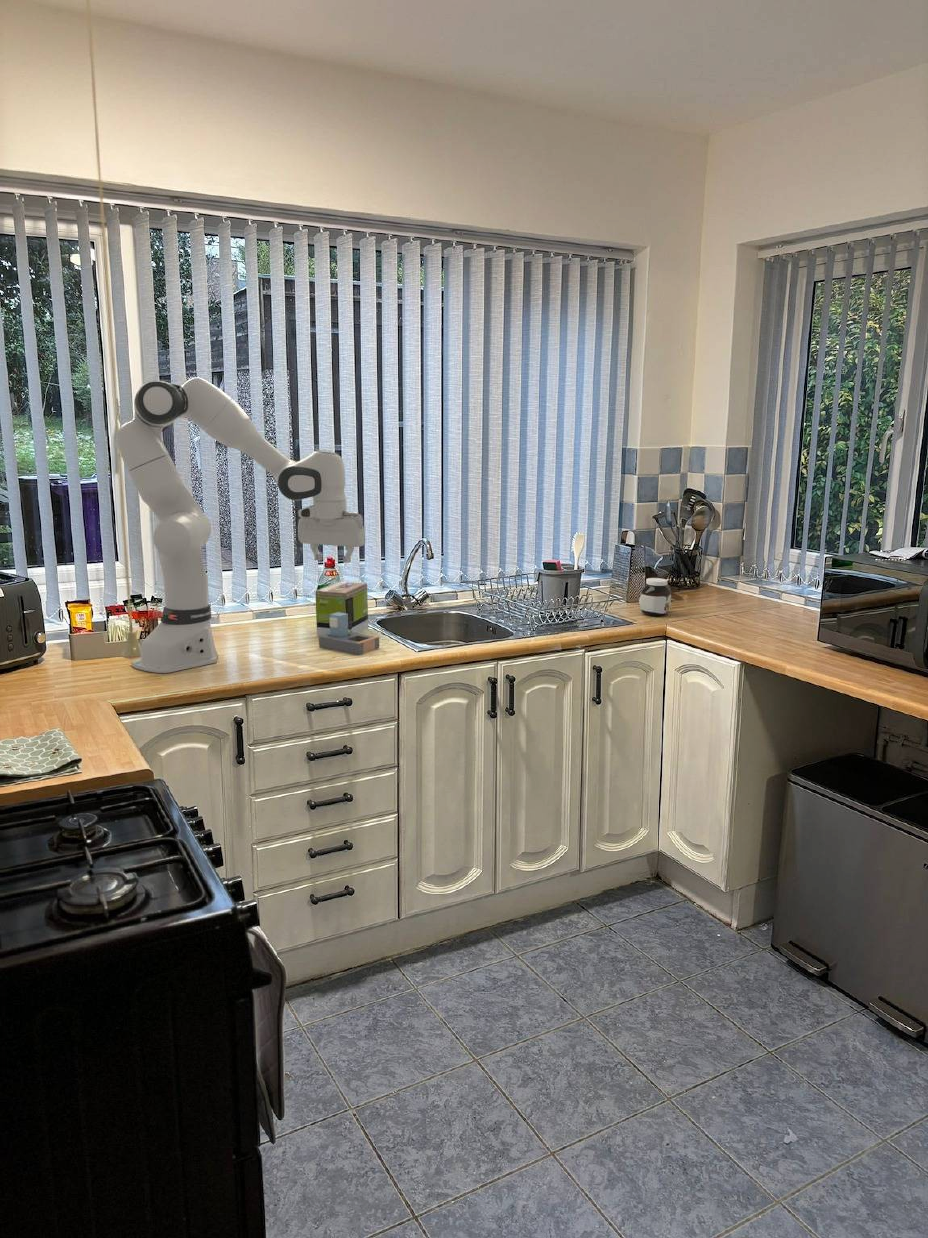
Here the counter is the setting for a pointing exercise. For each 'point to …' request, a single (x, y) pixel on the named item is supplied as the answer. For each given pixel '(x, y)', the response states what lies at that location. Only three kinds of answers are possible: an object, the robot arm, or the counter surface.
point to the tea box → (342, 606)
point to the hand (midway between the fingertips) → (332, 561)
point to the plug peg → (339, 625)
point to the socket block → (350, 643)
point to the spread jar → (655, 597)
